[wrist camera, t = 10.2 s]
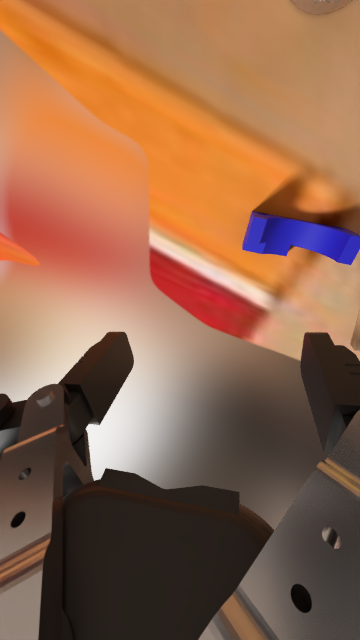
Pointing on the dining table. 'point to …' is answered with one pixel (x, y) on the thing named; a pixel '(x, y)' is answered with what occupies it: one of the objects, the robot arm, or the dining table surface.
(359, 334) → the door panel
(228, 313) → the dining table surface
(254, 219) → the cable clip
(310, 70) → the dining table surface
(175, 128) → the dining table surface
